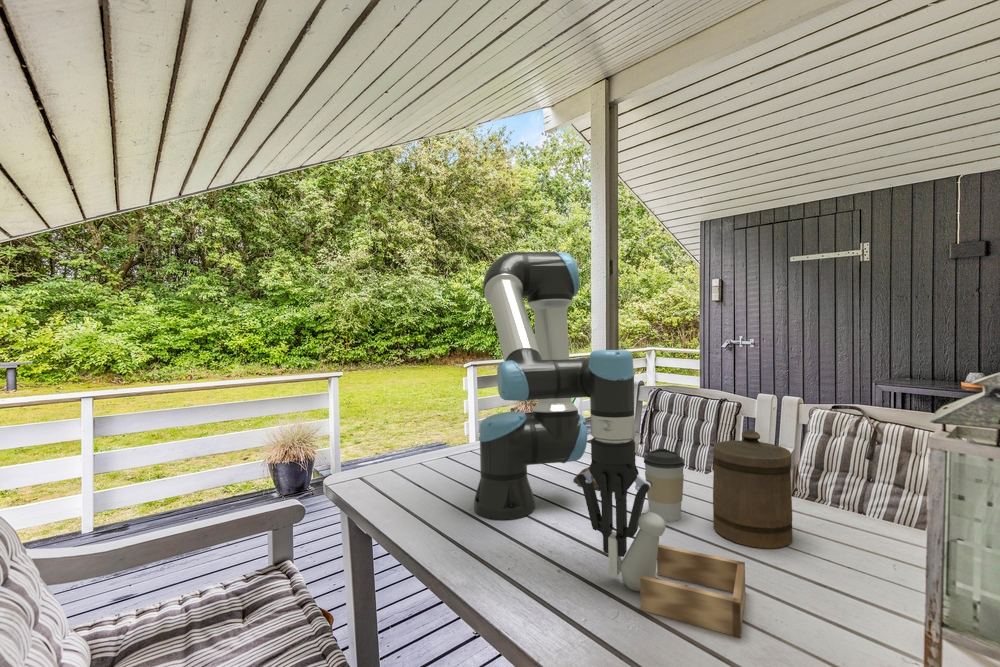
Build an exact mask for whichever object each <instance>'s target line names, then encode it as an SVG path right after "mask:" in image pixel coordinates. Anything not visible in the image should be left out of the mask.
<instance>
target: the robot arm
mask: <svg viewBox="0 0 1000 667" xmlns="http://www.w3.org/2000/svg"><path fill="white" fill-rule="evenodd" d="M579 272H580V270H579V267H578V265H577V262H576V259H575V258H574V257H573V255H571V254H570V253H568V252H559V251H555V250H554V251H553V250H552V251H512V252H508V253H505V254H502V255H501V256H499V257H498V258H497V259H495V260H494V261H493V262H492V264H491V265H490V266H489V267H488V268H487V270H486V272H485V275H484V277H483V281H482V282H483V283H482V284H483V285H482V290H483V294H484V298H485V300H486V301H487V302H488V304H490V306H491V310H492V316H493V319H494V323H495V328H496V331H497V336H498V340H499V345H500V350H501V354H502V358H503V361H501V362H499V364H498V366H497V370H496V371H497V372H496V383H497V391H498V394H499V397H500V398H501V399H503V401H518V402H519V401H520V402H524V401H533V400H537V403H536V404H535V406H534V407H533V408H532V410H531V411H532V416H531V417H527V414H526V413H525V412H523V411H506V412H505V411H504V412H499V413H494V414H492V415H490V416H487V417H485V418H483V419H482V421H481V422H480V423H479V424H480V425H479V437H478V441H479V450H480V453H479V454H480V455H479V458H480V461H479V462H480V463H479V464H480V477H479V478H480V479H479V482H478V485H477V489H476V492H475V496H474V500H473V505H474V507H473V508H474V511H475V513H476V514H478V515H479V516H481V517H484V518H488V519H493V520H514V519H520V518H523V517H527V516H529V515H530V514H532V513H533V512H534V511H535V510H536V509H535V507H536V505H535V504H536V501H535V500H536V499H535V496H534V493H533V490H532V487H531V483H530V481H529V478H528V466H533V465H543V464H544V465H545V464H557V463H558V464H559V463H561V464H566V463H570V462H576V461H579V460H580V459H582V457H583V456H584V453H585V452H586V448H587V444H588V426H587V421H586V418H585V417H584V415H582V414H580V413H579V410H578V409H579V408H578V407H577V406H576V405H575V404H574V403H573V401H572V399H573V398H575V399H576V398H577V399H578V398H579V399H580V398H589V399H590V400H589V402H590V411H589V412H590V435H591V436H592V439H591V441H590V450H591V452H590V456H591V463H590V465H589V466H588V467H589V470H588V471H586V472H585V471H584V472H582V473H581V474H580V475H578V474H577V475H578V476H577V475H576V476H577V479H578V481H579V483H580V485H581V486H582V487H581V488H582V491H583V495H584V499H585V503H586V507H587V511H588V512H587V513H588V515H589V519H590V524H591V528H592V530H594V531H597V532H599V533H601V535H602V550H603V553H605V554H608V576H612V577H615V578H617V577H618V576H619V575H620V573H621V567H620V566H621V562H622V558H624V557H625V555H626V553H627V552H628V549H627V548H628V546H627V544H628V542H627V538H630V539H632V538H633V537H634V536H635V535H636V534H637V533H638V531H639V530H638V529H639V525H638V520H639V517H640V515H641V514H642V513H643V508H644V503H645V500H646V497H647V492H648V490H649V489H650V488H651V486H652V483H651V481H648V480H647V481H646V479H644V478H643V477H641V475H640V474H639V470H638V467H637V465H636V442H635V441H634V439H633V438H635V436H636V426H635V424H636V421H635V372H636V371H635V368H634V359H633V358H634V356H633V354H632V352H631V351H629V350H626V349H625V350H624V349H602V350H601V349H599V350H598V349H597V350H593V351H592V352H590V354H589V356H587V357H579V358H570V347H569V346H570V344H569V330H568V329H569V327H568V325H569V324H568V308H569V307H570V306H571V305H572V303H573V298H574V297H576V296H577V295H578V294H579V290H580V286H579V285H580V284H581V281H580V273H579ZM524 298H527V306H528V307H529V308H530V309H532V310H533V316H534V317H533V321H534V322H533V323H534V330H533V327H532V323H531V320H530V318H529V315H528V311H527V308H526V305H525V303H524ZM593 478H594V479H595V481H596V482H597V484H598V486H599V487H600V491H599V493H600V494H599V496H600V500H601V502H600V504H601V510H600V504H599V499H598V496H597V493H596V490H595V488H594V484H593V482H592V481H593ZM634 482H635V486H634V487H635V490H636V491H637V492H636V493H635V495H634V500H633V505H632V509H631V513H630V516H629V517H630V518H629V521H628V504H627V502H628V501H627V496H628V490H629V489H630V487H632V485H633V484H634ZM613 494H614V500H615V526H614V525H613V524H614V522H613V521H614V517H613V515H614V514H613ZM615 527H616V528H615ZM614 529H615V531H613V530H614Z"/></svg>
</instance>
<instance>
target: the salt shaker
mask: <svg viewBox="0 0 1000 667" xmlns="http://www.w3.org/2000/svg"><path fill="white" fill-rule="evenodd" d="M666 526H667V524H666V521H664V520H663V519H662V518H661V517H660V516H659V515H657V514H655V513H652V512H649V511H645V512H642V513H641V515H640V517H639V520H638V529H639V530H637V532H636V534H635V535H636V536H635V537H634V539H633V541H632V543H631V544H630V546H629V548H628V549H627V552H626V554H625V555H624V557H623V559H621V566H620V567H621V572H620V573H621V579H622V582H623V583H624V585H626V586H627V588H628V589H630V590H632V591H635V592H636V591H637V592H639V593H641V589H640V578H641V576H647V577H651V578H655V579H656V574H657V573H656V572H657V554H658V545H660V537H662V536H663V534H664V533H665V531H666Z"/></svg>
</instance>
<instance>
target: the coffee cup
mask: <svg viewBox="0 0 1000 667" xmlns="http://www.w3.org/2000/svg"><path fill="white" fill-rule="evenodd" d="M643 464H644V468H645V471H644V475H645V476H644V477H645V481H647V480H648V481H651V483H652V486H651V488H650V489H649V490H648V492H647V493H646V498H647V501H648V502H647V503H648V512H652V513H655V514H657V515H659V516H660V517H661V518H662V519H663V520H664V521H665V522H666V523H667V522H668V523H669V522H670V523H671V522H672V523H673V522H677V521H679V520H680V519H681V517H682V516H681V514H682V501H683V494H684V477H685V476H684V466H685V460H684V458H683V457H681V456H680V454H679V453H678V452H675V451H671V450H669V449H667V448H656V449H654V450H651V451H649V452H648V454H647V455H645V456H644V457H643Z"/></svg>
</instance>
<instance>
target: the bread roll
mask: <svg viewBox="0 0 1000 667" xmlns="http://www.w3.org/2000/svg"><path fill="white" fill-rule="evenodd" d="M589 467H590V466H588V467H586V468H583V469H582V470H581V471H580V472H579V473H577V475H576V476H575V477H574V478H573V483H574V484H576V485H577V486H579V487H580V488H582V486H581V485H580V483H579V481H578V479H577V476H578V475H580V474H581V473H582V472H584V471H585V472H586V471H588V470H589ZM592 482H593V484H594V488H595V491H597V492H600V487H599V486H598V484H597V482H596V481H595V479H594V478H593V481H592Z"/></svg>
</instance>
